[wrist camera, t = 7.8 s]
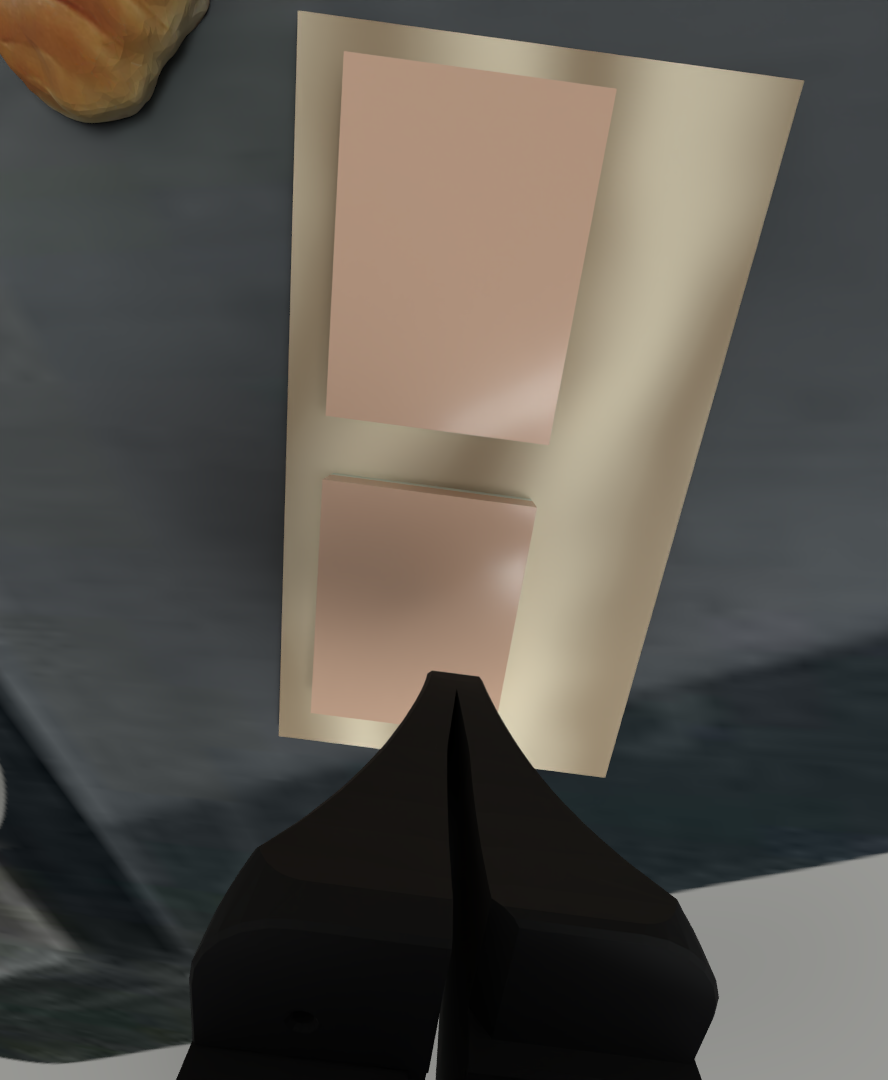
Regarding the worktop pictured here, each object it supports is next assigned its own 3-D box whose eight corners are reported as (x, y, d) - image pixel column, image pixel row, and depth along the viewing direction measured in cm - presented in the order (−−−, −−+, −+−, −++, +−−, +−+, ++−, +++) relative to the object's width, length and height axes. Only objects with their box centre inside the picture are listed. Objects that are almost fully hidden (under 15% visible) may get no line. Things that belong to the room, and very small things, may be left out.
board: (789, 94, 13) (804, 80, 13) (600, 766, 20) (605, 777, 20) (305, 28, 13) (297, 10, 13) (284, 726, 20) (278, 735, 20)
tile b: (536, 507, 15) (322, 479, 15) (493, 736, 18) (310, 712, 18) (530, 498, 16) (333, 472, 16) (491, 712, 19) (321, 690, 19)
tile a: (616, 89, 12) (343, 51, 12) (548, 445, 14) (325, 415, 14) (600, 120, 13) (355, 86, 13) (541, 441, 16) (337, 414, 16)
